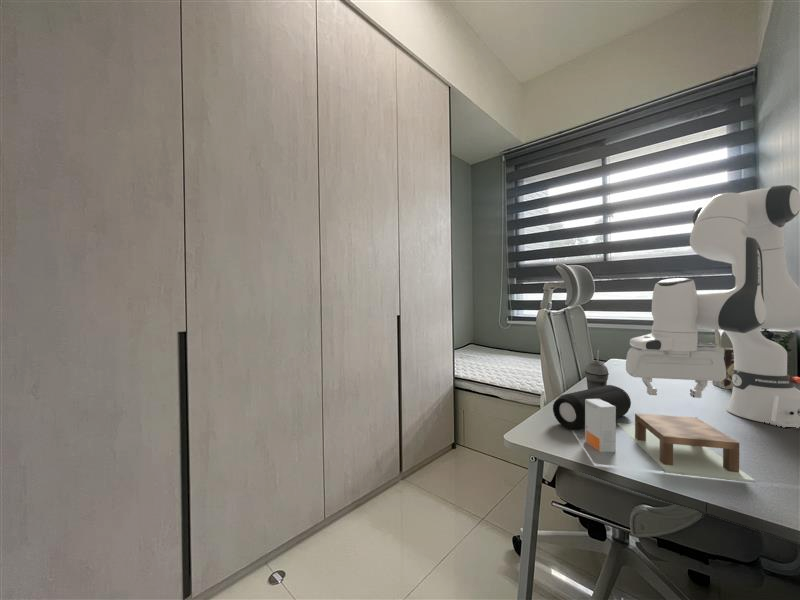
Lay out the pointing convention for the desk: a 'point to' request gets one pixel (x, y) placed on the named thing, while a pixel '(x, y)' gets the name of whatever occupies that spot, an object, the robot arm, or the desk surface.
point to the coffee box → (727, 370)
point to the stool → (686, 437)
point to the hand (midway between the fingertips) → (673, 395)
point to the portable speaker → (573, 404)
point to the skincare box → (600, 425)
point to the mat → (687, 458)
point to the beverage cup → (596, 374)
